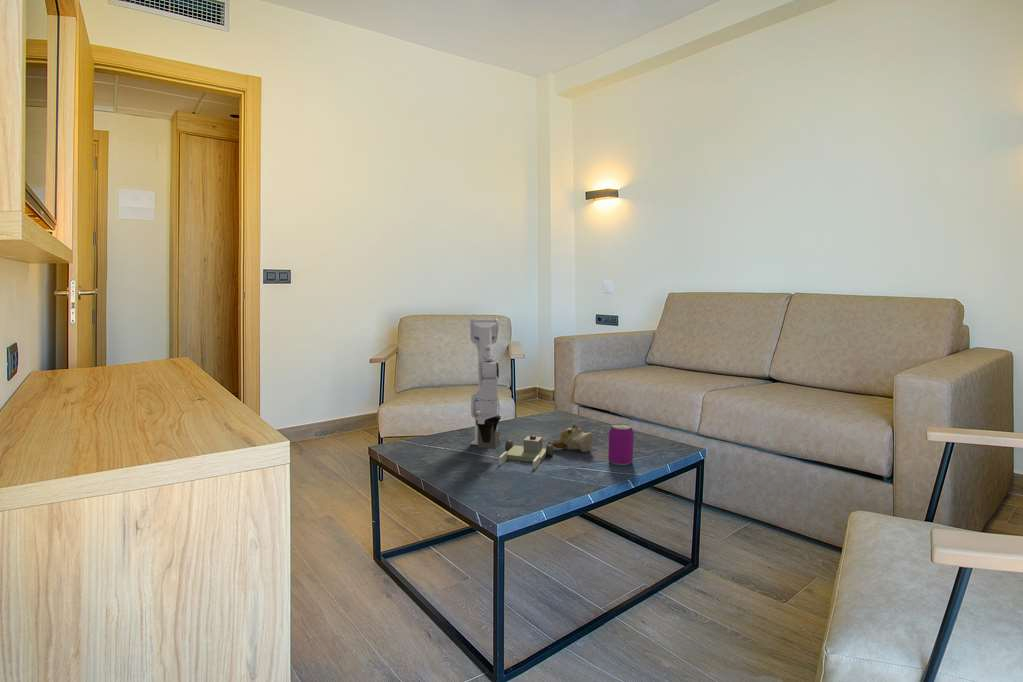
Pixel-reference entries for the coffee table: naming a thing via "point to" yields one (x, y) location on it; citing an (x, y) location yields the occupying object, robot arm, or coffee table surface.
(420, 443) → the coffee table surface
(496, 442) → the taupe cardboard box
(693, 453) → the coffee table surface
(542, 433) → the coffee table surface
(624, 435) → the beverage can
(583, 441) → the ceramic sculpture
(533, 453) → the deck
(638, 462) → the coffee table surface
